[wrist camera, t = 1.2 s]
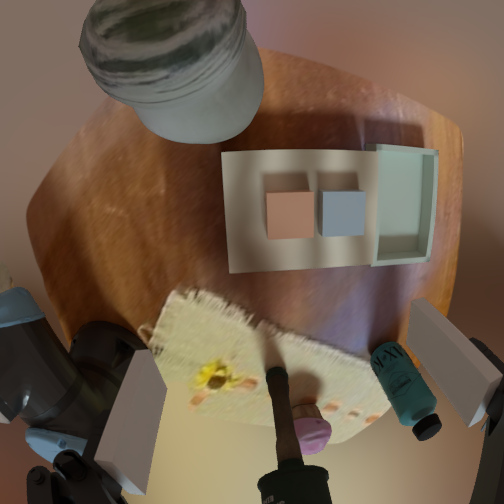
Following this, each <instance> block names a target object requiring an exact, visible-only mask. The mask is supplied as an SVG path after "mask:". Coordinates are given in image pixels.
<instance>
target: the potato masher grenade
mask: <svg viewBox="0 0 504 504" xmlns="http://www.w3.org/2000/svg"><path fill="white" fill-rule="evenodd" d="M266 382H267V385H268V391H269V394H270V396H271V399H272V406H273V414H274V422H275V429H276V437H277V441H276V453H277V461H278V470H275V471H272V472H270V473H268V474H265V475H264V476H263V477H261V478H260V479H259V481H258V484H257V486H258V489H259V490H260V492H261V499H262V504H332V501H331V496H330V492H329V487H328V483H327V481H328V479H329V474H328V471H327V470H326V469H324V468H323V467H319V466H315V465H304V462H303V459H302V453H301V448H300V443H299V441H298V438H297V436H296V432H295V427H294V421H293V416H292V411H291V405H290V400H289V384H288V374H287V372H286V371H285V370H284V369H283V368H280V367H275V368H272V369H270V370H269V371H268V372H267V374H266Z"/></svg>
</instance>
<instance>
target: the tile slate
mask: <svg viewBox="0 0 504 504" xmlns="http://www.w3.org/2000/svg"><path fill="white" fill-rule="evenodd" d="M365 203H366V191H363V190H360V189H318V233H319V234H320V235H321V236H322V237H335V236H357V235H364V224H365Z"/></svg>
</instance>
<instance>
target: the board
mask: <svg viewBox="0 0 504 504" xmlns="http://www.w3.org/2000/svg"><path fill="white" fill-rule="evenodd" d="M221 156H222V173H223V190H224V205H225V220H226V234H227V248H228V261H229V273H248V272H265V271H281V270H297V269H312V268H327V267H341V266H354V265H368V264H373V257H374V246H375V234H376V219H377V199H378V152H374V151H354V150H318V149H290V150H253V151H233V152H221ZM308 189H310V190H311V191H313V192H314V238H294V239H275V240H268V238H267V235H266V206H265V191H274V190H308ZM318 189H360V190H363V191H366V203H365V224H364V235H357V236H335V237H322V236H321V235H320V234H319V233H318Z"/></svg>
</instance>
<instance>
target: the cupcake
mask: <svg viewBox="0 0 504 504" xmlns="http://www.w3.org/2000/svg"><path fill="white" fill-rule="evenodd" d="M291 411H292V416H293V421H294V427H295V432H296V436H297V438H298V441H299V443H300V448H301V453H302V454H303V455H311V454H315V453H318V452H320V451H321V450H323V448H324V447H325V445H326V443H327V442H328V441H329V439H330V436H331V432H332V430H331V425H330V423H329V422H327V421H326V420H324V419H323V417H322V416H321V413H320V411H319V409H318V407H317V406H316V405H314V404H307V405H298V406H296V407H294V408H293V409H292V410H291Z"/></svg>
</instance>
